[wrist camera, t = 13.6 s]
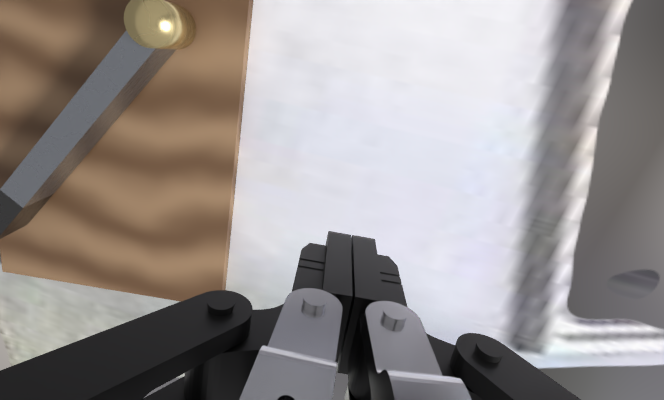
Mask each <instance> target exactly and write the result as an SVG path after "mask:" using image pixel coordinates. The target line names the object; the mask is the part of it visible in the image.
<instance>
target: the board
mask: <svg viewBox="0 0 664 400" xmlns="http://www.w3.org/2000/svg"><path fill="white" fill-rule="evenodd" d="M130 1H131V0H0V189H1V187H2V186H3V185H4V184H5V182H6V181H7V180H8V179H9V177H10V176H11V175H12V174H13V172H14V171H15V170H16V169H17V167H18V166H19V165H20V164H21V162H22V161H23V160H24V158H25V157H26V156H27V155H28V153H29V152H30V151H31V150H32V148H33V147H34V146H35V145H36V143H37V142H38V141H39V140H40V138H41V137H42V136H43V135H44V133H45V132H46V131H47V129H48V128H49V127H50V126H51V124H52V123H53V122H54V121H55V119H56V118H57V117H58V116H59V114H60V113H61V112H62V111H63V109H64V108H65V107H66V106H67V104H68V103H69V102H70V101H71V99H72V98H73V97H74V95H75V94H76V93H77V92H78V90H79V89H80V88H81V87H82V85H83V84H84V83H85V82H86V80H87V79H88V78H89V77H90V75H91V74H92V73H93V72H94V70H95V69H96V68H97V67H98V65H99V64H100V63H101V61H102V60H103V59H104V58H105V56H106V55H107V54H108V53H109V51H110V50H111V49H112V48H113V46H114V45H115V44H116V43H117V41H118V40H119V39H120V38H121V36H122V35H123V34H124V33H125V31H126V28H125V24H124V11H125V8H126V6H127V4H128V3H129V2H130ZM165 1H168V2H171V3H174V4H177V5H180V6H182V7H184V8H185V9H187V10H188V11H189V12H190V13H191V15H192V16H193V18H194V21H195V24H196V36H195V39H194V41H193V42H192V43H191V45H190V46H188V47H187V48H184V49H180V50H176V51H175V52H174V53H173V54H172V55H171V57H170V58H169V59H168V60H167V61H166V62H165V64H164V65H163V66H162V67H161V68H160V69H159V71H158V72H157V73H156V74H155V75H154V77H153V78H152V79H151V80H150V81H149V82H148V84H147V85H146V86H145V87H144V88H143V89H142V91H141V92H140V93H139V94H138V95H137V96H136V98H135V99H134V100H133V101H132V102H131V104H130V105H129V106H128V107H127V108H126V109H125V111H124V112H123V113H122V114H121V115H120V116H119V118H118V119H117V120H116V121H115V122H114V124H113V125H112V126H111V127H110V128H109V129H108V131H107V132H106V133H105V134H104V135H103V136H102V138H101V139H100V140H99V141H98V142H97V143H96V145H95V146H94V147H93V148H92V149H91V151H90V152H89V153H88V154H87V155H86V156H85V158H84V159H83V160H82V161H81V162H80V163H79V165H78V166H77V167H76V168H75V169H74V171H73V172H72V173H71V174H70V175H69V176H68V178H67V179H66V180H65V181H64V182H63V183H62V185H61V186H60V187H59V188H58V189H57V190H56V192H55V193H54V194H53V195H52V196H51V198H50V199H49V200H48V201H47V202H46V203H45V205H44V206H43V207H42V208H41V209H40V210H39V212H38V213H37V214H36V215H35V216H34V217H33V219H32V220H31V221H30V222H29V223H28V225H26V226H24V227H22V228H20V229H18V230H16V231H15V232H13V233H11V234H9V235H7V236H5V237H3V238H1V239H0V254H1V262H2V270H3V272H9V273H15V274H21V275H27V276H33V277H39V278H45V279H51V280H57V281H63V282H69V283H74V284H80V285H86V286H92V287H98V288H104V289H110V290H116V291H122V292H128V293H134V294H140V295H146V296H152V297H158V298H164V299H170V300H176V301H184V300H187V299H189V298H192V297H194V296H197V295H200V294H202V293H205V292H209V291H216V290H225V287H226V277H227V267H228V256H229V246H230V235H231V225H232V215H233V204H234V194H235V184H236V173H237V163H238V153H239V142H240V132H241V122H242V111H243V101H244V90H245V80H246V70H247V59H248V49H249V39H250V28H251V18H252V8H253V0H165Z"/></svg>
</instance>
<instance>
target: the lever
mask: <svg viewBox="0 0 664 400" xmlns="http://www.w3.org/2000/svg"><path fill="white" fill-rule="evenodd" d="M124 24H125V28H126V31H125V33H124V34H123V35H122V36H121V38H120V39H119V40H118V41H117V43H116V44H115V45H114V46H113V48H112V49H111V50H110V51H109V53H108V54H107V55H106V56H105V58H104V59H103V60H102V61H101V63H100V64H99V65H98V67H97V68H96V69H95V70H94V72H93V73H92V74H91V75H90V77H89V78H88V79H87V80H86V82H85V83H84V84H83V85H82V87H81V88H80V89H79V90H78V92H77V93H76V94H75V95H74V97H73V98H72V99H71V101H70V102H69V103H68V104H67V106H66V107H65V108H64V109H63V111H62V112H61V113H60V114H59V116H58V117H57V118H56V119H55V121H54V122H53V123H52V124H51V126H50V127H49V128H48V129H47V131H46V132H45V133H44V135H43V136H42V137H41V138H40V140H39V141H38V142H37V143H36V145H35V146H34V147H33V148H32V150H31V151H30V152H29V153H28V155H27V156H26V157H25V158H24V160H23V161H22V162H21V164H20V165H19V166H18V167H17V169H16V170H15V171H14V172H13V174H12V175H11V176H10V177H9V179H8V180H7V181H6V182H5V184H4V185H3V186H2V187H1V189H0V239H1V238H3V237H5V236H7V235H9V234H11V233H13V232H15V231H16V230H18V229H20V228H22V227H24V226H26V225H28V223H29V222H30V221H31V220H32V219H33V217H34V216H35V215H36V214H37V213H38V212H39V210H40V209H41V208H42V207H43V206H44V205H45V203H46V202H47V201H48V200H49V199H50V198H51V196H52V195H53V194H54V193H55V192H56V190H57V189H58V188H59V187H60V186H61V185H62V183H63V182H64V181H65V180H66V179H67V178H68V176H69V175H70V174H71V173H72V172H73V171H74V169H75V168H76V167H77V166H78V165H79V163H80V162H81V161H82V160H83V159H84V158H85V156H86V155H87V154H88V153H89V152H90V151H91V149H92V148H93V147H94V146H95V145H96V143H97V142H98V141H99V140H100V139H101V138H102V136H103V135H104V134H105V133H106V132H107V131H108V129H109V128H110V127H111V126H112V125H113V124H114V122H115V121H116V120H117V119H118V118H119V116H120V115H121V114H122V113H123V112H124V111H125V109H126V108H127V107H128V106H129V105H130V104H131V102H132V101H133V100H134V99H135V98H136V96H137V95H138V94H139V93H140V92H141V91H142V89H143V88H144V87H145V86H146V85H147V84H148V82H149V81H150V80H151V79H152V78H153V77H154V75H155V74H156V73H157V72H158V71H159V69H160V68H161V67H162V66H163V65H164V64H165V62H166V61H167V60H168V59H169V58H170V57H171V55H172V54H173V53H174V52H175V51H176V50H180V49H184V48H187V47H188V46H190V45H191V43H192V42H193V41H194V39H195V36H196V24H195V21H194V18H193V16H192V15H191V13H190V12H189V11H188V10H187V9H185V8H184V7H182V6H180V5H177V4H174V3H171V2H168V1H165V0H131V1H130V2H129V3H128V4H127V6H126V8H125V11H124Z"/></svg>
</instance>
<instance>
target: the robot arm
mask: <svg viewBox="0 0 664 400" xmlns="http://www.w3.org/2000/svg"><path fill="white" fill-rule="evenodd" d="M337 363H338V373H344V374H348V386H347V389H346V394H345V398H344V400H580V399H579V398H578V397H576V396H575V395H574V394H572V393H571V392H569V391H568V390H566V389H565V388H564V387H562V386H561V385H560V384H558V383H557V382H555V381H554V380H553V379H551V378H550V377H548V376H547V375H545V374H544V373H543V372H541V371H540V370H538V369H537V368H536V367H534V366H533V365H531V364H530V363H529V362H527V361H526V360H524V359H523V358H522V357H520V356H519V355H517V354H516V353H515V352H513V351H512V350H510V349H509V348H508V347H506V346H505V345H503V344H502V343H500V342H499V341H497V340H495V339H493V338H490V337H488V336H485V335H481V334H476V333H467V334H463V335H461V336H460V337H459V338H458V339H457V342H456V345H452V344H450V343H447V342H444V341H442V340H439V339H437V338H434V337H432V336H430V335H428V334H427V333H426V332H425V330H424V327H423V325H422V322H421V320H420V318H419V317H418V315H417V314H416V313H415V312H413V311H412V310H411V309H409V308H407V304H406V300H405V296H404V292H403V288H402V285H401V280H400V277H399V271H398V267H397V265H396V264H395V263H394V262H393V261H392V260H391V259H390V257H388V256H383V255H377V250H376V244H375V239H371V238H366V237H360V236H354V235H352V237H351V235H348V234H342V233H337V232H331V231H329V232H328V236H327V241H326V246H325V245H319V244H313V243H309V244H308V245H307V246H305V247H304V248H303V249H302V250H301V255H300V259H299V263H298V268H297V272H296V276H295V280H294V285H293V289H292V292H291V293H290V294H289V295H288V296H287V298H286V300H285V302H284V304H282V305H280V306H278V307H275V308H271V309H264V310H252V305H251V303H250V301H249V300H248V299H247V298H246V297H244V296H243V295H241V294H239V293H236V292H232V291H226V290H216V291H209V292H205V293H202V294H200V295H197V296H194V297H192V298H189V299H187V300H184V301H181V302H179V303H176V304H174V305H171V306H168V307H166V308H163V309H160V310H158V311H155V312H153V313H150V314H147V315H145V316H142V317H140V318H137V319H134V320H132V321H129V322H126V323H124V324H121V325H119V326H116V327H113V328H111V329H108V330H106V331H103V332H100V333H98V334H95V335H92V336H90V337H87V338H85V339H82V340H79V341H77V342H74V343H72V344H69V345H66V346H64V347H61V348H58V349H56V350H53V351H51V352H48V353H45V354H43V355H40V356H38V357H35V358H32V359H30V360H27V361H24V362H22V363H19V364H17V365H14V366H11V367H9V368H6V369H4V370H1V371H0V400H332V399H333V392H334V384H335V377H336V369H337ZM183 373H185V376H184V377H182V378H180V379H179V380H177V381H175V382H173V383H171V384H169V385H168V386H166V387H164V388H162V389H160V390H158V391H157V392H155V393H153V394H151V395H149V396H147V397H145V396H146V395H147V394H148V393H149V392H151V391H152V390H154V389H155V388H157V387H159V386H161V385H163V384H164V383H166V382H168V381H170V380H172V379H174V378H176V377H178V376H180V375H181V374H183ZM144 397H145V398H144Z"/></svg>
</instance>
